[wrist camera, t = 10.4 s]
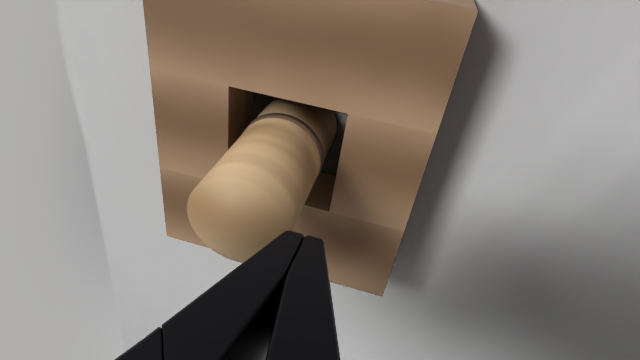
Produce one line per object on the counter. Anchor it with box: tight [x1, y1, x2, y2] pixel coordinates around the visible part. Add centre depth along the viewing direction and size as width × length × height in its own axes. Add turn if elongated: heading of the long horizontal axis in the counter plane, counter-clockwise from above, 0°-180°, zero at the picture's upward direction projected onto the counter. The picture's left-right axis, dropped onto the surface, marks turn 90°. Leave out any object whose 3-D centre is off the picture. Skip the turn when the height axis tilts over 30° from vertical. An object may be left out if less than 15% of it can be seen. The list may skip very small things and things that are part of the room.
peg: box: [187, 97, 337, 263], centre depth 17 cm, size 4×4×8 cm
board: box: [143, 0, 478, 296], centre depth 19 cm, size 14×12×3 cm
